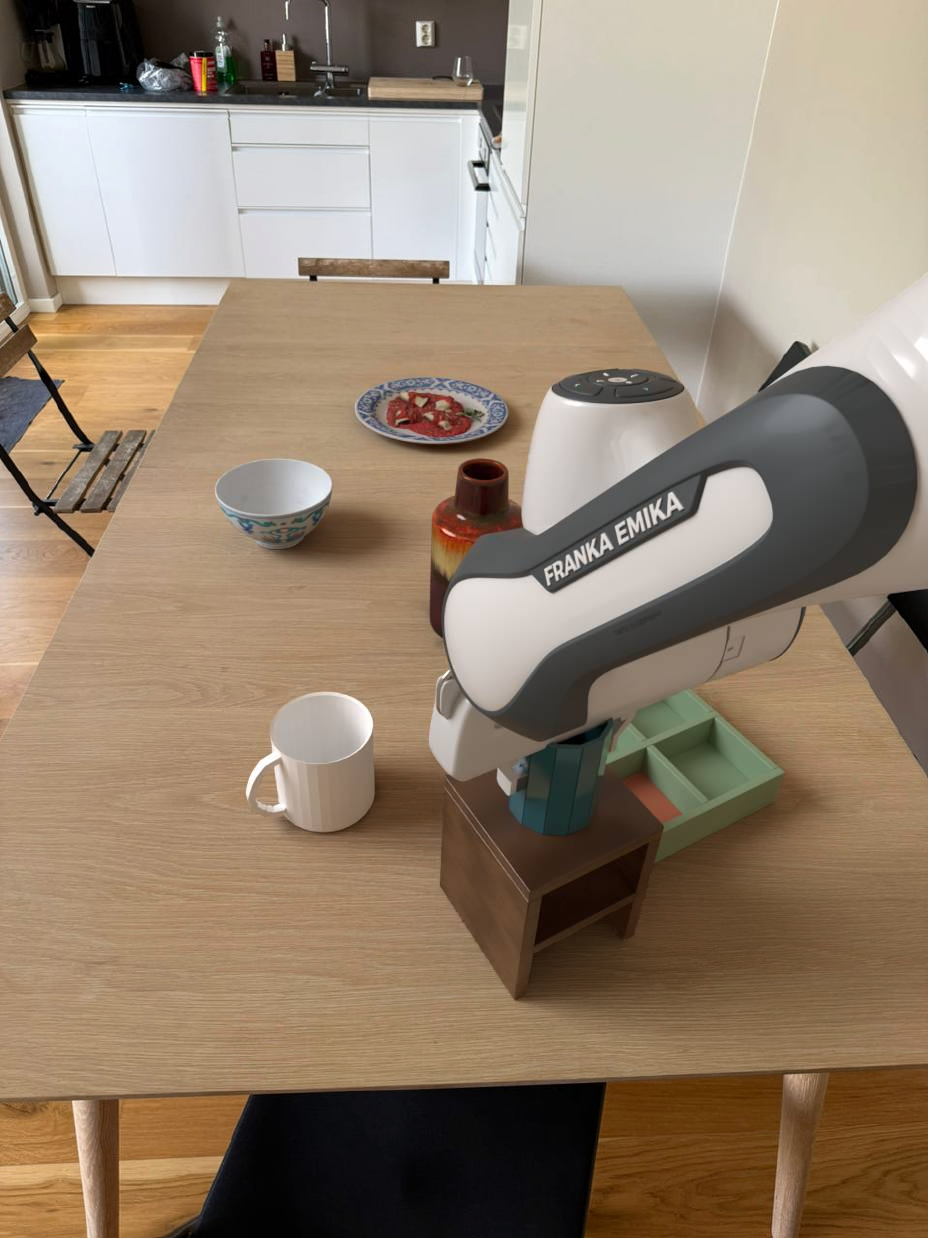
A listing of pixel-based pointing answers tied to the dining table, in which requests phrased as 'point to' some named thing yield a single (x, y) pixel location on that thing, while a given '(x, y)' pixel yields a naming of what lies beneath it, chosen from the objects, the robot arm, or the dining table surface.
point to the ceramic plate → (431, 410)
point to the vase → (468, 523)
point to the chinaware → (275, 500)
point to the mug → (319, 762)
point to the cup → (563, 783)
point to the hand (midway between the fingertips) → (557, 766)
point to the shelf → (542, 871)
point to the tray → (692, 769)
